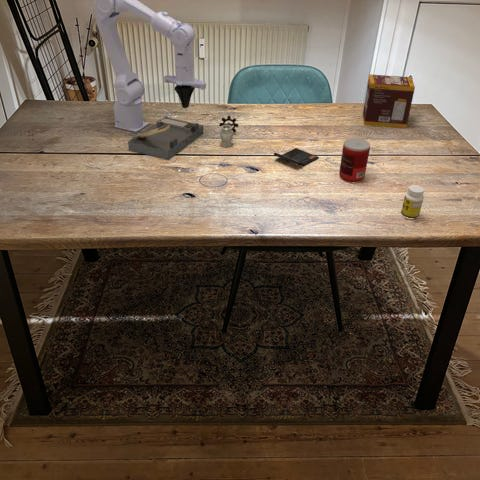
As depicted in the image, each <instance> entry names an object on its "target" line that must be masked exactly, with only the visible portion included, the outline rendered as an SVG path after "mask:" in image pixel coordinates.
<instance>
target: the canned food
mask: <svg viewBox="0 0 480 480" xmlns="http://www.w3.org/2000/svg"><path fill="white" fill-rule="evenodd" d="M370 149H371V144H370V142H369V141H368V140H365V139H363V138H360V137H359V138H357V137H352V138H348V139H345V140H344V142H343V145H342V152H341V157H340V158H341V159H340V165H339V172H338V173H339V178H340V179H341V180H343V181H344V182H347V183H352V182H355V183H360V182H362V181H363V180H364V179H365V176H366V172H367V167H368V160H369V155H370Z"/></svg>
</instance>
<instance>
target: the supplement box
mask: <svg viewBox="0 0 480 480" xmlns="http://www.w3.org/2000/svg"><path fill="white" fill-rule="evenodd" d="M415 88H416V87H415V84H414V82H413V78H412V77H410V76H400V75H399V76H397V75H384V74H383V75H382V74H380V75H379V74H371V73H370V74H368V81H367V87H366V91H365V97H364V99H365V100H364V105H363V110H362V118H363V125H364V126H369V125H371V127H382V126H385V127H386V128H395V127H396V129H397V128H398V129H407V126H408V121H409V116H410V111H411V107H412V102H413V98H414V93H415Z"/></svg>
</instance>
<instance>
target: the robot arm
mask: <svg viewBox="0 0 480 480" xmlns="http://www.w3.org/2000/svg"><path fill="white" fill-rule="evenodd" d="M92 4H93V6H94V10H95V23H96V25H97V26H96V27H97V29H98V30H99V34H100V36H101V39H102V42H103V45H104V48H105V50H106V53H107V55H108V56H107V57H108V58H109V61H110V63H111V66H112V68H113V72H114V74H115V79H114V82H113V87H114V90H115V91H114V92H115V93H114V94H115V99H116V101H115V103H114V105H113V114H114V115H113V116H114V123H115V124H114V125H113V126H114V128H116V129H121V130H124V131H125V130H126V131H130V132H134V133H138V132H139V131H142V129H144V128H145V127H147V126H149V125H150V123H149V122H146V121H144V113H143V111H144V110H143V102H142V100H143V96H144V94H145V92H146V91H145V85H144V84H143V81H141V80H140V78H139V75H138V74H137V73H135V72H134V71H132V67H131V65H130V63H129V59H128V56H127V53H126V51H125V48H124V45H123V43H122V39H121V37H120V35H119V32H118V29H117V25H116V21H117V19H118V17H119V15H120V14H121V13H125V12H127V13H130V14H133V15H134V16H135V17H138V18H140V19H142V20H144V21H146V22H147V23H148V22H149V23H150V26H151V28H152V30H154V31H156V32H157V33H158V34H161V35H162V36H163V37H165V38H167V39H168V40H170V41H171V44H172V45H173V49H174V67H175V68H174V69H175V75H171V74H170V75H168V74H167V75H165V76H163V83H164V84H167V83H170V84H174V85H175V86H174V91H175V92H176V94H177V96H178V98H179V100H180V104H181V107H182V108H183V109H187V108H189V107H190V102H191V98H192V95H193V92H194V90H195V89H200V90H202V91H204V90H206V89H207V81H206V82H205V81H202V80H199V79H196V78H194V77H195V76H194V48H193V45H194V44H193V42H194V40H195V39H196V30H195V29H194V27H193V26H192V25H191V24H189V23H186V22H184V23H182V21H180V20H176V19H175V18H173V17H172V16H169V13H168V12H166V11H159V12H155V11H154V10H153V9H151V8H149V7H148V6H146V5H145V4H143V3H142V2H141V1H139V0H94V1H93V3H92Z"/></svg>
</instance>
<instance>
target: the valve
mask: <svg viewBox="0 0 480 480" xmlns="http://www.w3.org/2000/svg"><path fill="white" fill-rule="evenodd" d="M231 117H232V116H231V115H227V116H226V118H225V117H222V118H221V121H222V122H220V123H219V125H218V126H219V127H221V129H220V130H221V132H220V134H219V135H220V137H219V139H220V140H221V142H220V146H221V147H222V148H231V147H232V145H233V144H232V142H233V139H234V138H233V136H234V135H233V133H236V132H237V129H236V128H238V127H239V123H236V121H237V118H236V117H233V118H231ZM226 122H227V123H226Z"/></svg>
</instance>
